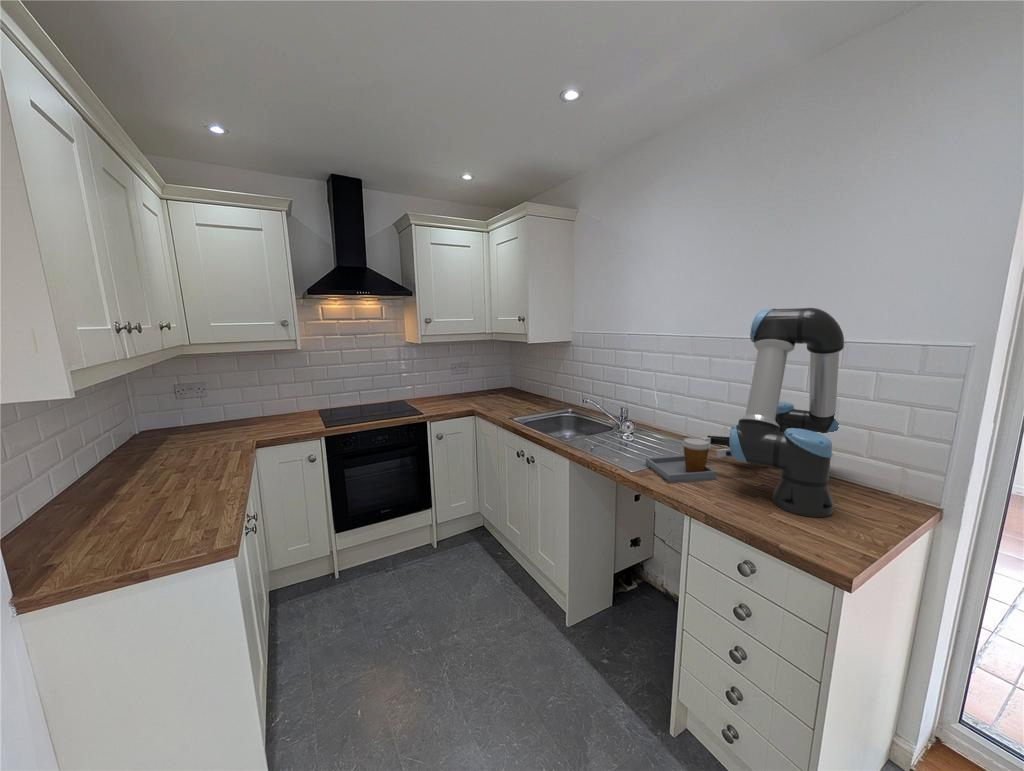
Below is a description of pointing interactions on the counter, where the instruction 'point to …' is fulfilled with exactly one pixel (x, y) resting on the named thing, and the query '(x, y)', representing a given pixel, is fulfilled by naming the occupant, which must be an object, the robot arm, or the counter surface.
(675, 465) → the tray
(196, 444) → the counter surface
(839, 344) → the robot arm
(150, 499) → the counter surface
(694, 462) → the disposable coffee cup
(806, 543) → the counter surface
